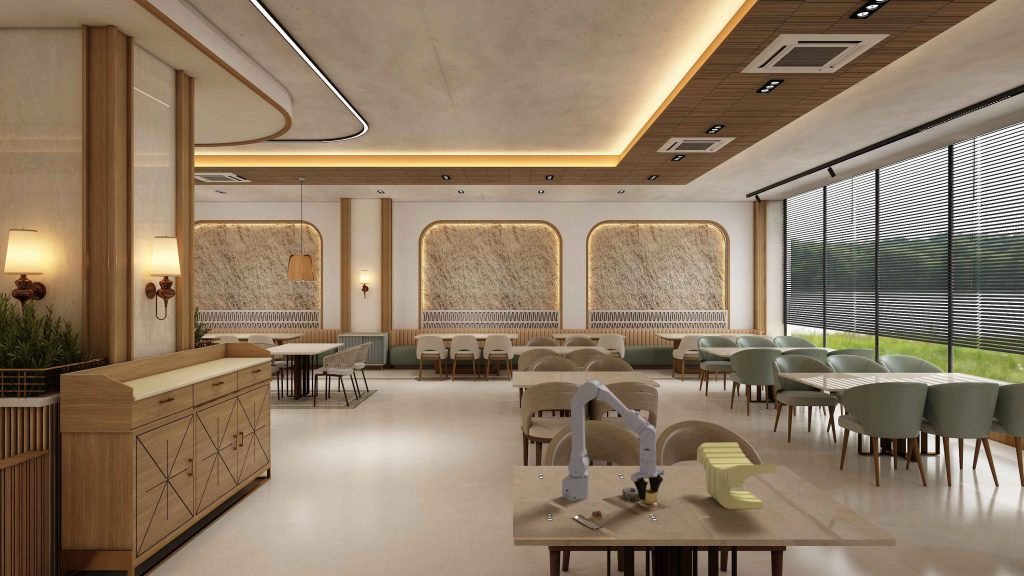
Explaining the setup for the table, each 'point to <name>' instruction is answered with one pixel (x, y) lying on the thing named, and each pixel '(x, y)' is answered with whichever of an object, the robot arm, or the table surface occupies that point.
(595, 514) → the dessert
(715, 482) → the slatted curved stool
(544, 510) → the table surface
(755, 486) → the table surface
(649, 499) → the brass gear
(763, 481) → the table surface
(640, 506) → the gear board
